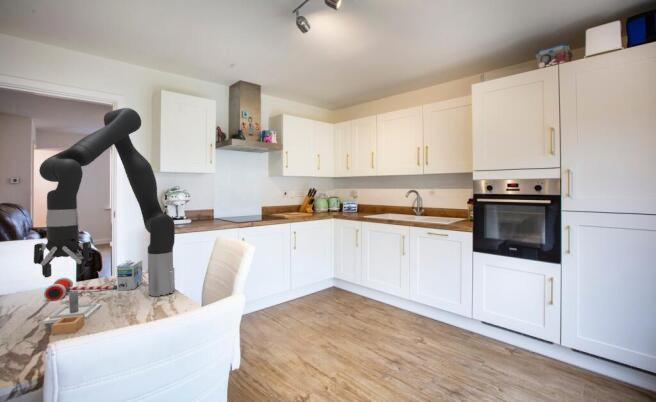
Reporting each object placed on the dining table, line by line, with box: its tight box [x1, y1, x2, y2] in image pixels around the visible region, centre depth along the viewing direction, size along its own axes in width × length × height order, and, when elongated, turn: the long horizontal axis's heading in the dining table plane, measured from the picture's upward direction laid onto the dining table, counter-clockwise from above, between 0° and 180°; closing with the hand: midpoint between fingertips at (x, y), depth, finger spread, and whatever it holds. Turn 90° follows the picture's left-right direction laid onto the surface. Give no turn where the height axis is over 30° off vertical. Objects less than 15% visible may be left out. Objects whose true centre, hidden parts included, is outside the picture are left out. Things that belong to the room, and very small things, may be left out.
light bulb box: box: [116, 259, 144, 292], centre depth 139 cm, size 11×7×11 cm, turn 13°
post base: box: [42, 290, 102, 325], centre depth 108 cm, size 12×12×8 cm
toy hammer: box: [43, 277, 118, 302], centre depth 131 cm, size 23×12×6 cm, turn 117°
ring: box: [50, 315, 86, 336], centre depth 97 cm, size 6×6×3 cm
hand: (64, 275), depth 97 cm, fingers open, 8 cm apart
